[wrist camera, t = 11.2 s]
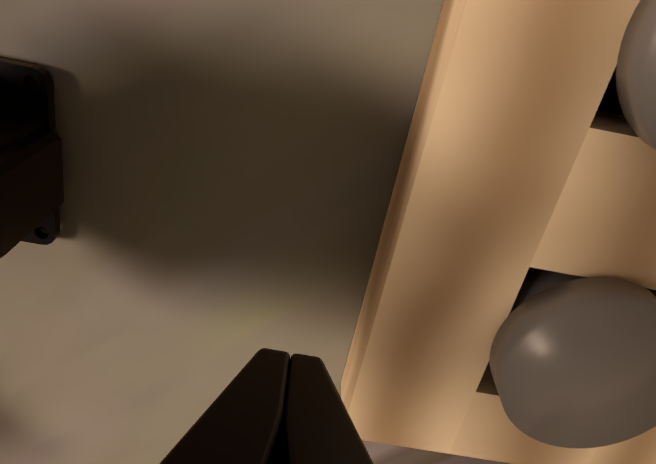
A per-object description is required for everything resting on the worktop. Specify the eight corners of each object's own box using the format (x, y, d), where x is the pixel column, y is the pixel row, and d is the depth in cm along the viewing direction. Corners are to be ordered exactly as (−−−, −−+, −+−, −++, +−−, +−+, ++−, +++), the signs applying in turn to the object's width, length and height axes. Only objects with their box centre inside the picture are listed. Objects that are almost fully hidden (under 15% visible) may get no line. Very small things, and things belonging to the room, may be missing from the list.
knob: (451, 346, 22) (475, 433, 18) (500, 217, 19) (541, 287, 15) (589, 369, 22) (643, 460, 18) (657, 247, 20) (737, 322, 16)
